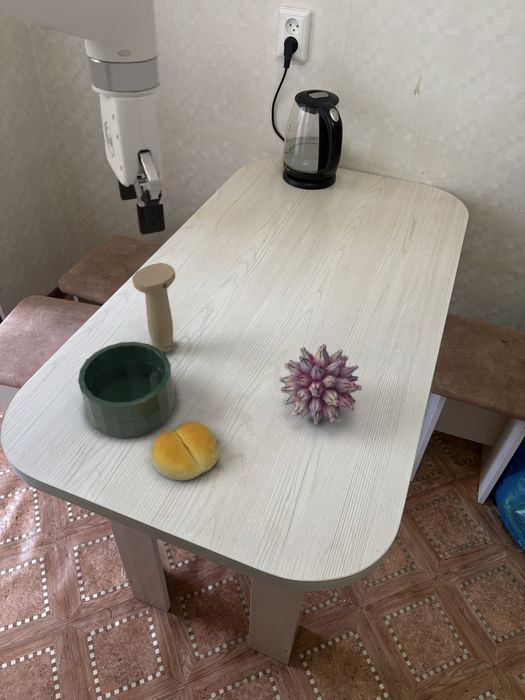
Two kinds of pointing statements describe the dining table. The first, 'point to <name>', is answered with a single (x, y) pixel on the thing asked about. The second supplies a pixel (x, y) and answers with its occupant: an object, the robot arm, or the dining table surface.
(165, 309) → the handle
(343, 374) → the flower
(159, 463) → the bread roll
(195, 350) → the dining table surface
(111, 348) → the pot
